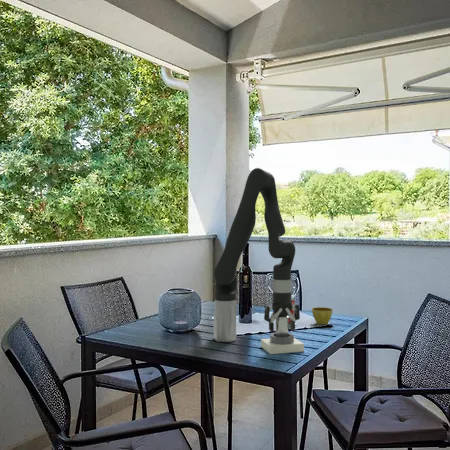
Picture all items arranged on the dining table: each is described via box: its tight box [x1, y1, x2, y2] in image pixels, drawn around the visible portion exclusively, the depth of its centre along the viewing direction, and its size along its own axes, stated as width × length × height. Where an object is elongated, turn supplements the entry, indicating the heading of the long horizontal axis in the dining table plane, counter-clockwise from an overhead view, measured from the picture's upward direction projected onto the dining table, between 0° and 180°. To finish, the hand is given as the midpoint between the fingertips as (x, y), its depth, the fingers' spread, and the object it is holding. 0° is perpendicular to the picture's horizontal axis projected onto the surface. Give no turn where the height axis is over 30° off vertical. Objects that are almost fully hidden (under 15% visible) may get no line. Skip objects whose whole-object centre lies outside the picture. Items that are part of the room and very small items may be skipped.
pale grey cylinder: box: [275, 316, 289, 337], centre depth 188 cm, size 5×5×10 cm
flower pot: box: [311, 306, 333, 325], centre depth 233 cm, size 10×10×7 cm
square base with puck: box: [260, 332, 305, 355], centre depth 188 cm, size 14×11×6 cm
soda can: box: [288, 298, 296, 325], centre depth 234 cm, size 7×7×12 cm
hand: (282, 331), depth 188 cm, fingers open, 8 cm apart
